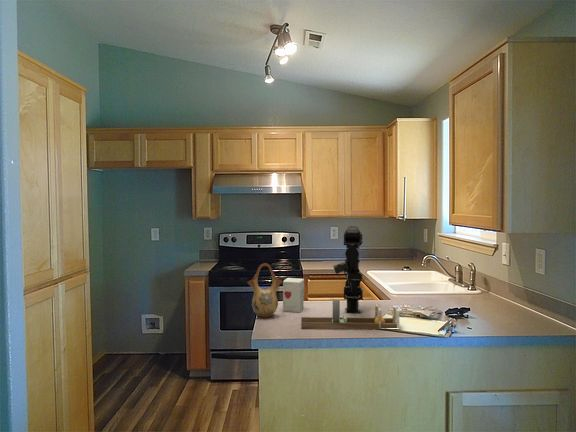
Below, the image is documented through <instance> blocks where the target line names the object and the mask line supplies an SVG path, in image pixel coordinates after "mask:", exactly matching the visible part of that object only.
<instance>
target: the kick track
mask: <svg viewBox="0 0 576 432" xmlns="http://www.w3.org/2000/svg"><path fill="white" fill-rule="evenodd" d="M374 306H375V307H374V311H375V312H374V315H375V316H374V317H347V323H332V319H333V316H328V317H327V316H325V317H323V316H321V317H320V316H318V317H317V316H316V317H315V316H314V317H313V316H301V318H300V320H301V322H300V323H301V324H300V325H301V326H300V327H301V329H302V330H368V331H370V330H373V329H381V328H399V329H400V312H401V311H400V310H399V309H398V307H396V306H395V305H392V311H391V312H392V317H383V318H384V320H385V323H381V317H382V308H381V307H380V306H379V304H377V303H376V304H375V305H374ZM376 317H378V323H375V322H374V321H375V318H376ZM340 319H343V317H340ZM373 331H374V330H373Z"/></svg>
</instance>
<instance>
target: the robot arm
mask: <svg viewBox="0 0 576 432" xmlns="http://www.w3.org/2000/svg"><path fill="white" fill-rule="evenodd" d="M362 244H363V234H362V232H361V231H360V229H359V227H358V226H351V225H349V226H348V227H347V229H345V231H343V246H346V247H345V253H344V254H345V259H344V262H340V263H338V264H335V265H333V266H332V267H333V270H334V272H335V274H337V275H338V274H340V273H342V272H343V274H344V275H345V277H346V280H345V282H344V284H345V286H343V299H344V300H346V307H345V308H344V309H345V312H346V313H349V314H350V313H354V314H355V313H356V314H358V313H359V314H360V313H361V311H360V309H359V300H360V301H362V300H363V295H364V290H363V289H362V287H361V282H362V280H363V274H362V273H361V272H360V261H361V260H360V249H361V246H362Z"/></svg>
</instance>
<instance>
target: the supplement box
mask: <svg viewBox="0 0 576 432" xmlns="http://www.w3.org/2000/svg"><path fill="white" fill-rule="evenodd" d="M304 286H305V279H304V278H295V277H287V278H285V279H284V280H283V281H282V311H283V312H293V313H301V312H302V311H303V309H304V306H305V305H304V303H305V301H304V299H305V296H304V293H305V291H304V290H305V289H304V288H305V287H304Z"/></svg>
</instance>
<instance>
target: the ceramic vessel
mask: <svg viewBox="0 0 576 432" xmlns="http://www.w3.org/2000/svg"><path fill="white" fill-rule="evenodd" d="M262 267H267V268H269V269H268V270H269V271H270V275H271V280H272V281H271V282H272V283H271V285H270V287H268V288H266V289H263V288H261V287H260V285H259V283H258V279H259V274H260V271H261V269H262ZM246 283H247V284H248V285H249V286H250V287H251V288H252V291H253V296H252V300H251V306H252V310H253V312H254V313H255V314H256V316H258V317H260V318H271V316H273V315H274V314H275V313H276V311H277V309H278V305H279V299H278V296H277V290H278V288H279V287H280V285H281V284H283V281H282V280H281V279H278V278H277V276H276V275H275V272H274V270H273V269H272V266H271V265H270V264H269V263H266V262H265V263H261V264H260V265H259V266H258V268H257V270H256V273H255V274H254V276H253V277H252V279H251V280H248V281H247V282H246Z"/></svg>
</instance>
